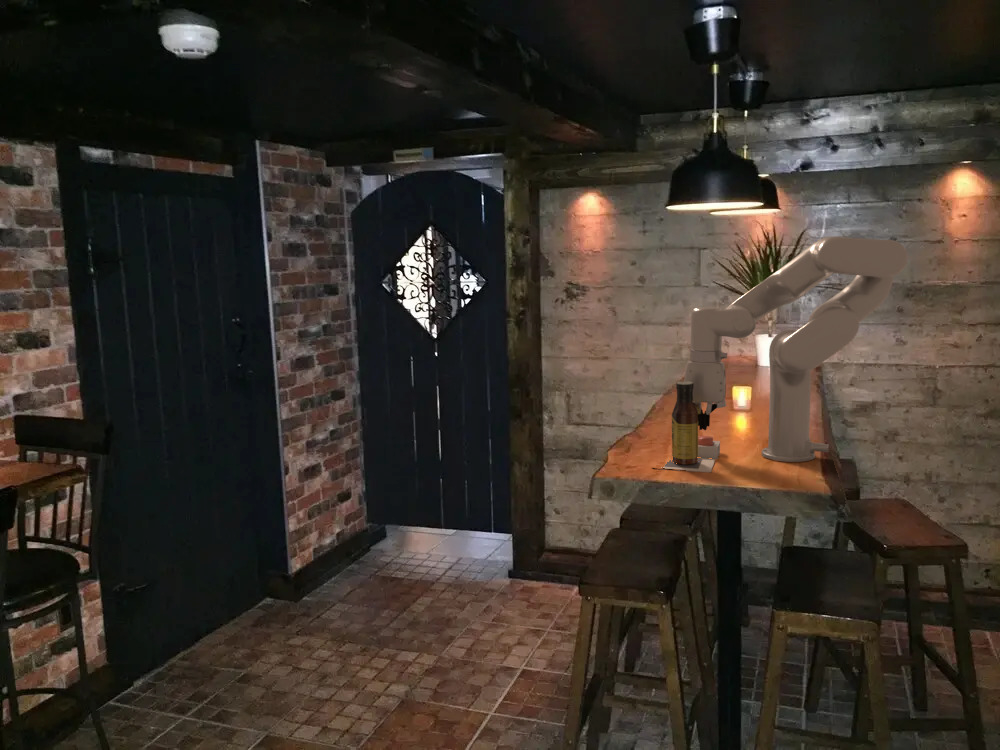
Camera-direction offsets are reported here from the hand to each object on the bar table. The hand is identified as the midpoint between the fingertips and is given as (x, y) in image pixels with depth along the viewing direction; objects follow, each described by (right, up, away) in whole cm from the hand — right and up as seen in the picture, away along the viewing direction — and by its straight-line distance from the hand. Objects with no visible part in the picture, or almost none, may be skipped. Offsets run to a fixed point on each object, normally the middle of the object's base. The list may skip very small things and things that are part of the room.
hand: (703, 428), depth 209 cm
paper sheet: (-7, -8, -8) cm, 13 cm away
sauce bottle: (-6, -8, -8) cm, 13 cm away
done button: (+1, -5, +1) cm, 5 cm away
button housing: (+1, -7, +1) cm, 7 cm away
